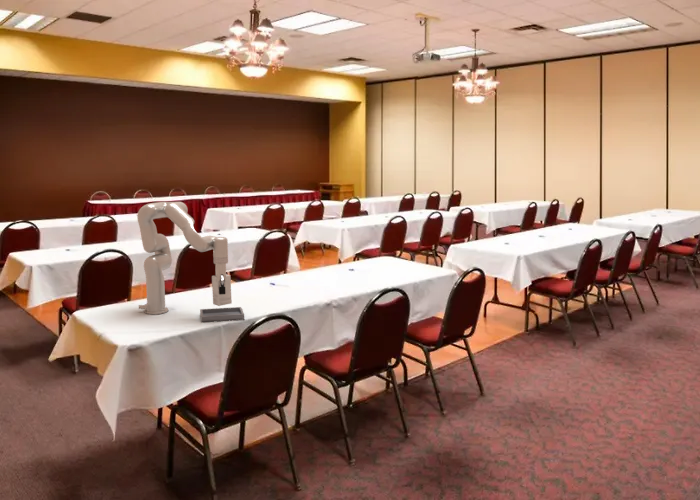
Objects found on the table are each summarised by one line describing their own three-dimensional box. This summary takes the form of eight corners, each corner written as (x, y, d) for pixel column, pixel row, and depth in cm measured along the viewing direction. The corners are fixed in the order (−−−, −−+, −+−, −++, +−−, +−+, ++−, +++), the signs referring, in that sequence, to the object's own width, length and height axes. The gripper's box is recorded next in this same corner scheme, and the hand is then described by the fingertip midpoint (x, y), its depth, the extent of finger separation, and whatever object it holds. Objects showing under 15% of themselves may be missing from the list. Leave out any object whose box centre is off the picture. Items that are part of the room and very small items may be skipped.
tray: (201, 322, 320) (201, 316, 319) (200, 314, 335) (200, 309, 334) (244, 319, 326) (244, 314, 325) (241, 312, 341) (240, 306, 340)
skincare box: (226, 301, 334) (225, 273, 332) (232, 303, 329) (231, 275, 327) (212, 304, 329) (211, 275, 327) (218, 306, 324) (217, 277, 322)
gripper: (212, 257, 333) (213, 289, 335) (214, 263, 316) (215, 296, 319) (226, 257, 335) (227, 288, 337) (229, 262, 318) (230, 295, 321)
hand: (221, 292), depth 328 cm, fingers closed on skincare box, 8 cm apart
